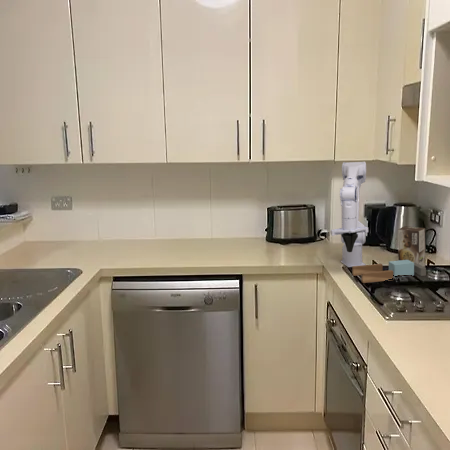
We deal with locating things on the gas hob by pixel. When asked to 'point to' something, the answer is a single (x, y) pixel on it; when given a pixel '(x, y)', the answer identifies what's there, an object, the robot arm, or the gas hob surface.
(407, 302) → the gas hob surface
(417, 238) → the cookie box
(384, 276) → the chute
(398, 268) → the block
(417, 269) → the block
